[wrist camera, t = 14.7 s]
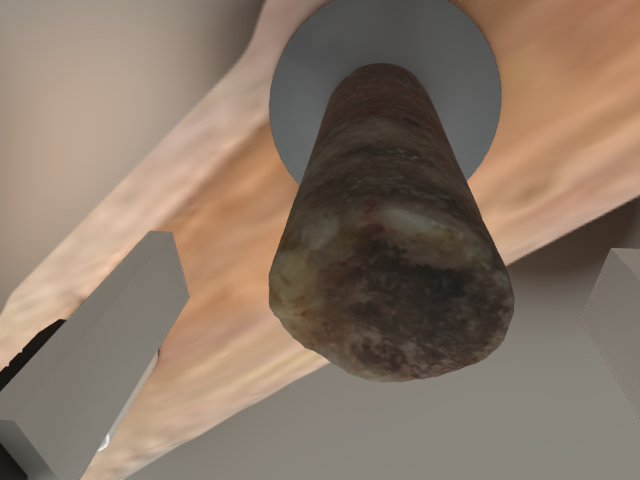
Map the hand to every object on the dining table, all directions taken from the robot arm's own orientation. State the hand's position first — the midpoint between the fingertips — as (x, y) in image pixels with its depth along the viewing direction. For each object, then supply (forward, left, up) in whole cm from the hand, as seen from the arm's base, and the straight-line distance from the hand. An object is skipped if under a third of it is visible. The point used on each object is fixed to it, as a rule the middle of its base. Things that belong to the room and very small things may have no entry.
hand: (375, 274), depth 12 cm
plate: (0, 0, -20) cm, 20 cm away
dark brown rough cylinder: (0, 0, -19) cm, 19 cm away
